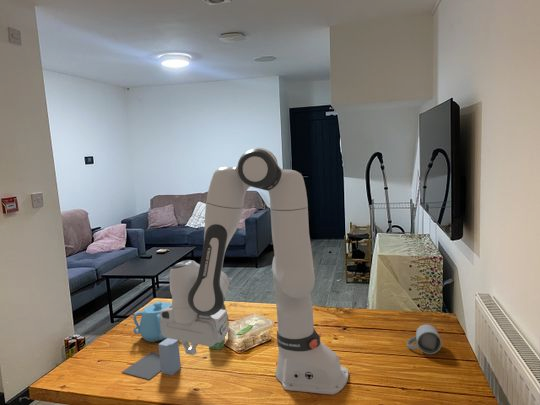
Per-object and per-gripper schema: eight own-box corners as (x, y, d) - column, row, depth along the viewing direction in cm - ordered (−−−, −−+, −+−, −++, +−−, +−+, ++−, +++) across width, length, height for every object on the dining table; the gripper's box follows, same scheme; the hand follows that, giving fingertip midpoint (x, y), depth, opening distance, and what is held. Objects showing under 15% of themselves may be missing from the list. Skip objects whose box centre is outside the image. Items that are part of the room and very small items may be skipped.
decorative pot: (163, 323, 173) (159, 292, 171) (190, 330, 164) (187, 298, 162) (131, 340, 160) (126, 306, 158) (159, 349, 151) (155, 313, 149)
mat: (177, 358, 143) (177, 357, 143) (149, 380, 131) (149, 379, 131) (151, 352, 148) (151, 351, 148) (121, 372, 136) (121, 371, 136)
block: (181, 368, 136) (178, 340, 135) (172, 375, 133) (169, 346, 131) (170, 365, 139) (167, 337, 137) (161, 372, 135) (158, 344, 133)
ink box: (221, 350, 147) (218, 318, 145) (208, 348, 148) (205, 318, 147) (229, 338, 155) (227, 309, 153) (217, 337, 156) (215, 308, 155)
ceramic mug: (437, 342, 142) (437, 321, 141) (442, 355, 134) (441, 332, 133) (405, 342, 144) (404, 321, 143) (408, 353, 137) (407, 331, 136)
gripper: (220, 312, 126) (224, 354, 128) (168, 304, 136) (172, 343, 138) (208, 320, 121) (212, 364, 123) (155, 311, 130) (159, 352, 132)
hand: (191, 353), depth 130 cm, fingers closed
